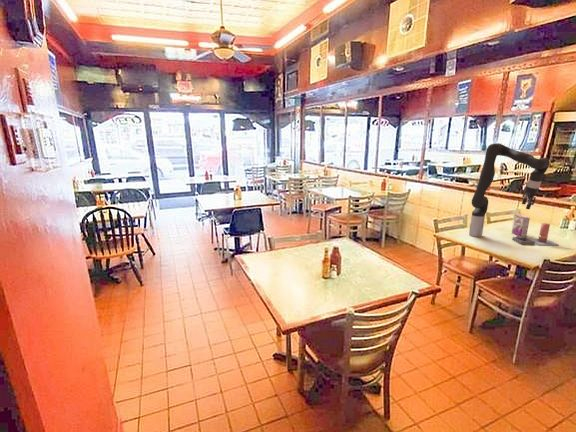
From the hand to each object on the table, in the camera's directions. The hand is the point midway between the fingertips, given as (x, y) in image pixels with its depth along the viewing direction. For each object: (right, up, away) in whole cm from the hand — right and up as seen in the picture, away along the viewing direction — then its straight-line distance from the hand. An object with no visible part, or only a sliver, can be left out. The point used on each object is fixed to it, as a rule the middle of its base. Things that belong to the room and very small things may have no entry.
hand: (525, 206), depth 227 cm
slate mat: (+22, -27, +12) cm, 37 cm away
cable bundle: (+22, -27, +12) cm, 37 cm away
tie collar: (+8, -27, +14) cm, 32 cm away
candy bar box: (+17, -23, +30) cm, 42 cm away
